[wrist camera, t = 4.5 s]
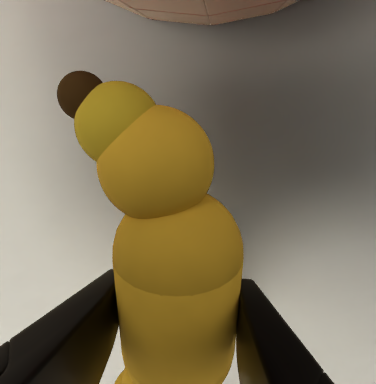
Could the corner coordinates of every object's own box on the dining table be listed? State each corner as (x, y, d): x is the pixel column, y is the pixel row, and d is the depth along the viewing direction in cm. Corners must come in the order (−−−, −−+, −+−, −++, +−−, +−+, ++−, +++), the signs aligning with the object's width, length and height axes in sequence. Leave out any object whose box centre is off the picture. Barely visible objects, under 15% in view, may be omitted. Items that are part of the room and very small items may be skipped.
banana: (236, 400, 12) (208, 509, 9) (136, 360, 13) (85, 442, 10) (272, 72, 7) (239, 77, 4) (114, 68, 9) (10, 71, 6)
